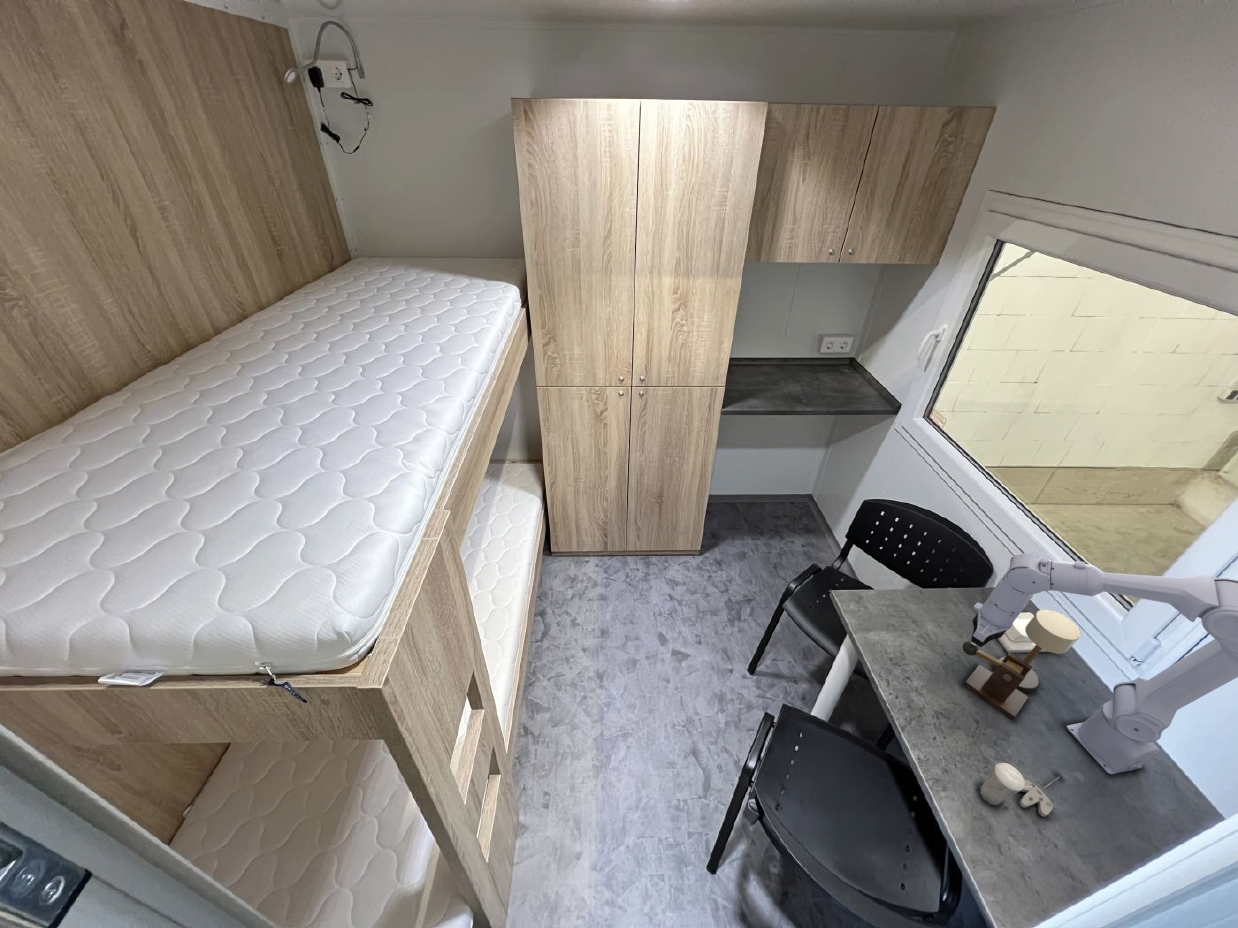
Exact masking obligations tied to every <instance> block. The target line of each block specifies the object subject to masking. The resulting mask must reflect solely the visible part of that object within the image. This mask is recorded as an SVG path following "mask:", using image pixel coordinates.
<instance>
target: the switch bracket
mask: <svg viewBox="0 0 1238 928" xmlns="http://www.w3.org/2000/svg"><path fill="white" fill-rule="evenodd" d="M1004 657H1005V658H1004V660H1003V661H1002V663H1001V664H1000V665H999V666H998V667H997V668H996V670H995V669H994V670H993V672H992V671H991V670H989V669H988V668H987V667H985V666H983V665H982V664H980V663H979V664H978V665H977V666H976V668H975V669H974V670H973V671H972V673H971V674H969V676H968V678H967V679H966V680H965V681H964V683H963V686H965V688H968V689H969V690H970V691H971V692H973V693H975V694H976V695H977V696H978V697H980V698H981V699H982V700H984V701H985V702H987V703H988V704H990V705H991V706H992V707H994V708H996V709H997V710H998V711H999V712H1001V713H1002V714H1004V715H1005V716H1007V717H1008V718H1009V719H1011V720H1012V721H1014V720H1015V718H1016V717H1017V715H1018V714H1019V713H1020V711H1021V710H1022V708H1023V706H1024V705H1025V703H1026V702H1027V700H1028V699H1029V696H1028V695H1027V694H1025V693H1024V692H1021V691H1019V690H1017V689H1016V688H1017V687H1018V686H1019V685H1020V683H1021V682H1022V681H1023V680H1024V679H1025V676H1026V674H1027V673H1028V672H1029V671H1030V670H1031V668H1032V669H1033V666H1032V665H1030V664H1027V663H1026V662H1024V661H1023V660H1024V659H1023V660H1022V659H1021V658H1019V657H1018V656H1016V655H1015V654H1014V653H1010V652H1009V653H1008V652H1007V654H1006V656H1004ZM1008 660H1009V661H1011V662H1013V663H1015V664H1017V665H1019V666H1021V667H1023V671H1022V673H1021V674H1020V673H1018V672H1017V671H1015V670H1014V669H1012V668H1011V667H1009V666H1007V665H1006V664H1004V663H1006V662H1007V661H1008ZM1003 662H1004V663H1003Z"/></svg>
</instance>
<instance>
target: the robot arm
mask: <svg viewBox="0 0 1238 928" xmlns="http://www.w3.org/2000/svg"><path fill="white" fill-rule="evenodd" d="M1051 591H1053V592H1059V593H1060V592H1061V593H1066V594H1072V595H1073V594H1075V595H1080V596H1081V595H1082V596H1088V597H1095V596H1097V595H1100V594H1102V593H1110V594H1116V595H1121V596H1125V597H1132V598H1135V599H1136V598H1137V599H1142V600H1147V601H1152V602H1153V601H1154V602H1157V603H1163V604H1168V605H1170V606H1172V607H1173V608H1174V609H1175V610H1176V611H1177V612H1178V613H1180V614H1181V615H1182V616H1183V617H1185V618H1186V619H1187V620H1188V621H1189V622H1190V623H1195V622H1196V620H1197V618H1198V619H1201V625H1202V627H1203V629H1204V630H1205V631H1206V632H1207V633H1208V634H1209V635H1210V636H1211V637H1212V638H1213V639H1212V640H1210V641H1209V642H1206V644H1204V645H1202V646H1201V647H1199V648H1197V649H1196V650H1194V651H1192V652H1191V653H1189V654H1187V655H1186V656H1184V657H1183V658H1182V659H1180V660H1178V661H1177V662H1175V663H1173V664H1171V665H1170V666H1168V667H1167V668H1165V669H1163V670H1162V671H1160V672H1159V673H1157V674H1155V675H1154V676H1152V677H1151V678H1149V679H1146V678H1143V677H1141V676H1140V677H1137V678H1135V679H1133V680H1129V681H1121V682H1117V683H1116V684H1115V685H1114V686H1113V690H1112V692H1113V698H1112V699H1111V700H1108V701H1106V702H1105V703H1104V704H1103V705H1101V706H1100V707H1099V708H1098V709H1096V711H1095V712H1093V713H1092V714H1091V716H1089V717H1088V718H1087V719H1086V720H1085V721H1084V722H1083V721H1082V722H1078V723H1074V724H1068V725H1066V726H1065V727H1066V729H1067V730H1068V732H1069V733H1070V734H1071V735H1072V736H1073V737H1074V738H1075V740H1077V742H1078V743H1079V744H1080V745H1081V746H1082V747H1083V748H1084V749H1085V750H1086V751H1087V753H1089V755H1090V756H1091V757H1092V758H1093V759H1094V760H1095V762H1097V763H1098V764H1099V766H1100V767H1101V768H1103V771H1105V773H1107V774H1108V775H1115V774H1121V773H1124V772H1128V771H1134V770H1138V769H1141V768H1143V765H1145V764H1146V763H1148V762H1149V761H1150V760H1151V759H1153V758H1155V757H1156V756H1158V754H1159V753H1160V749H1159V748H1158V747H1157V745H1156V744H1155V742H1158V741H1159V740H1161V737H1162V733H1163V732H1164V731H1165V730H1166V729H1168V728H1169V727H1170V726H1171V724H1172V723H1173V722H1172V721H1173V720H1174V717H1175V716H1176V713H1177V711H1179V710H1181V709H1182V708H1184V707H1186V706H1187V705H1189V704H1191V703H1193V702H1195V701H1197V700H1199V699H1200V698H1202V697H1204V696H1206V695H1208V694H1209V693H1211V692H1213V691H1215V690H1217V689H1218V688H1221V687H1223V686H1224V685H1226V684H1228V683H1229V682H1232V681H1233V680H1235V679H1237V678H1238V579H1236V578H1231V577H1214V576H1210V575H1206V574H1199V575H1193V576H1186V577H1173V576H1159V575H1145V574H1130V573H1119V572H1117V573H1116V572H1105V571H1102V570H1101V569H1100V568H1099V567H1097V566H1096V565H1094V564H1089V563H1088V564H1087V563H1086V562H1085V561H1081V560H1080V561H1079V560H1075V561H1074V562H1070V561H1061V560H1052V559H1048V558H1044V557H1043V558H1042V557H1040V556H1038V555H1036V554H1033V553H1020V554H1016V555H1015V556H1011V557H1010V560H1009V567H1008V569H1007V571H1006V572H1005V573H1004V575H1002V577H1001V578H1000V579H999V581H998V582H997V584H996V585H995V587H994V588H993V590H992V591H991V592H990V594H989V596H988V597H987V598H986V600H985V601H984V603H980V602H976V603H975V604H974V605H973V609H974V610H975V611H976V612H977V614H976V615H975V616H974V617H973V618H972V625H973V631H972V634H971V638H970V642H973V643H975V644H976V645H977V646H978V648H982V647H984V646H985V645H987V644H988V643H989V642H991V641H993V640H998V639H999V638H1001V637H1002V636H1003V635H1004V632H1006V631H1007V630H1008V629H1010V628H1011V627H1012V625H1013V622H1014V621H1015V619H1016V618H1017V617H1018V615H1019V614H1020V613H1022V612H1023V610H1024V609H1025V608H1026V606H1027V605H1028V604H1029V602H1030V601H1031V600H1032V598H1033V597H1034V595H1035V594H1036V595H1037V594H1040V593H1042V592H1051Z"/></svg>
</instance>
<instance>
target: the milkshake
mask: <svg viewBox="0 0 1238 928" xmlns="http://www.w3.org/2000/svg"><path fill="white" fill-rule="evenodd" d="M1035 785H1036V784H1034V785H1032V786H1025V778H1024V776H1023V775H1022V773H1021V772H1020V771H1019V770H1018V769H1017V768H1016V767H1014V766H1013V765H1011V764H1010V763H1007V762H998V763H996V764H995V766H994V767H993V769H992V770H991V772H990V774H989V775H988V777H987V778H986V779H985V781H984V782H983V783H982V785H980V787H979V795H980V796H981V797H982V799H983V800H984V801H985V802H987V803H988V804H989V805H993V806H997V805H999V804H1001V803H1002V802H1004V801H1005V800H1007V799H1008V798H1010V797H1012V796H1014V795H1016V794H1017V793H1019V792H1022V791H1021V790H1022V789H1023V788H1031V787H1035Z"/></svg>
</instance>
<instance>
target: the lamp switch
mask: <svg viewBox="0 0 1238 928" xmlns="http://www.w3.org/2000/svg"><path fill="white" fill-rule="evenodd" d="M961 648H962V651H963V652H964V653H965V654H966V655H968V656H977V657H979V658H980V659H983V660H984V661H987V662H988V663H990V664H992V665H994V666H995V665H996V666H999V665H1000V664H1001V663H1002V661H1000V660H999V659H1000V658H996V657H995V656H993V655H991V654H989V653H987V652H986V651H983V650H981V649H979V646H978V645H976V644H975V643H973V642H972V641H971V640H968V641H965V642H963V644H962V646H961ZM1003 663H1004V662H1003ZM1004 664H1006V665H1007V666H1009V667H1011V668H1012V669H1014V670H1015V671H1017V672H1018V673H1020V674H1021V673H1022V671H1023V667H1021V666H1019V665H1017V664H1015V663H1013V662H1011V661H1009V660H1008V661H1007V662H1006V663H1004Z"/></svg>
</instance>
